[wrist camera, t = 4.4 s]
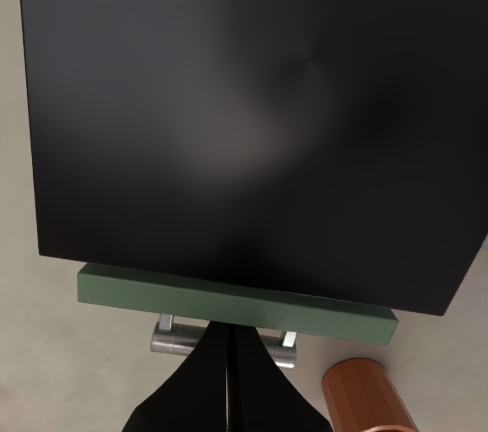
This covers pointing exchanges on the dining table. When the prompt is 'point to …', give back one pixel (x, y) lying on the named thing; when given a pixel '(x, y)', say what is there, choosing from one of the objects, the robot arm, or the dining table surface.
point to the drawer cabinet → (264, 141)
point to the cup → (364, 399)
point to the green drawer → (230, 310)
